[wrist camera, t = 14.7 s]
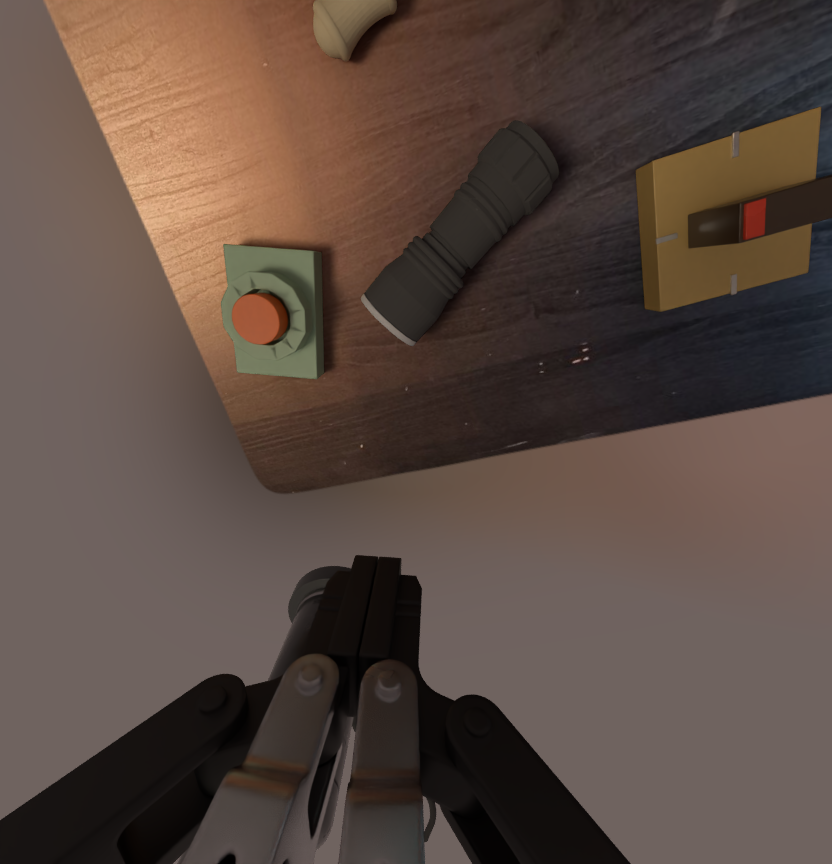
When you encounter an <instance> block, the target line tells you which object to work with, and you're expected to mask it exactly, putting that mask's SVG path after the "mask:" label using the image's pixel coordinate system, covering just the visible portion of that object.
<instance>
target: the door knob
mask: <svg viewBox="0 0 832 864" xmlns="http://www.w3.org/2000/svg"><path fill="white" fill-rule="evenodd" d="M396 9H397V0H316V1H315V2H314V3H313V11H314V19H313V29H314V34H315V38H316V40H317V42H318V44H319V46H320V48H321V49H322V50H323V51H324V52H325V53H326V54H327V55H328V56H330V57H332V58H341V59H342V60H343V61H348V60H349V59H350V57H351V53H352V51H353V49H354V48H355V46H356V44H357V43H358V41H359V39H360V38H361V37H362V35H363V34H364V33H365V32H366V31H367V30H368V29H369V28H370V27H371V26H372V25H373V24H374V23H376V22H377V21H378V20H380V19H382V18H383V17H385V16H387V15H392V14H394V13H395V12H396Z"/></svg>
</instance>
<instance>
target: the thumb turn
mask: <svg viewBox="0 0 832 864" xmlns="http://www.w3.org/2000/svg"><path fill="white" fill-rule="evenodd" d="M829 218H832V175H828V176H824V177H820V178H816V179H812V180H808V181H804V182H800V183H796V184H792V185H788V186H784V187H780V188H777V189H774V190H770V191H767V192H764V193H760V194H757V195H753V196H750V197H747V198H743V199H740V200H736V201H733V202H730V203H726V204H723V205H719V206H716V207H713V208H709V209H706V210H702V211H699V212H696V213H692V214H689V215H688V248H699V247H709V246H719V245H729V244H739V243H743V242H747V241H750V240H754V239H757V238H761V237H765V236H768V235H772V234H775V233H779V232H783V231H786V230H790V229H793V228H797V227H801V226H804V225H808V224H811V223H815V222H818V221H822V220H826V219H829Z"/></svg>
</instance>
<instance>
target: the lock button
mask: <svg viewBox="0 0 832 864" xmlns="http://www.w3.org/2000/svg"><path fill="white" fill-rule="evenodd" d="M232 321H233V325H234V327H235V329H236V331H237V332H238V334H239V335H240V336H241V337H242V338H244V339H245V340H246V341H248V342H250V343H253V344H258V345H262V344H267V343H269V342H272V341H274V340H277V339H279V338H280V337H281V336H282V335H283V334H284V333H285V331H286V329H287V326H288V316H287V312H286V310H285V308H284V306H283V304H282V303H281V302H280V301H279V300H278V299H277V298H275V297H274V296H272V295H270V294H267V293H255V294H247V295H244V296H242V297H240V298H239V299H238V300H237V301H236V302H235V304H234V306H233V309H232Z"/></svg>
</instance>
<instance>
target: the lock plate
mask: <svg viewBox="0 0 832 864" xmlns="http://www.w3.org/2000/svg"><path fill="white" fill-rule="evenodd" d="M820 117H821V107H818V108H814V109H811V110H808V111H805V112H802V113H799V114H796V115H793V116H790V117H787V118H784V119H781V120H777V121H774V122H771V123H768V124H765V125H762V126H759V127H756V128H753V129H750V130H747V131H744V132H740V133H739V131H737V132H734V133H732V135H731V136H728V137H725V138H722V139H719V140H716V141H713V142H710V143H707V144H703V145H700V146H697V147H694V148H691V149H688V150H685V151H682V152H679V153H676V154H673V155H670V156H666V157H663V158H660V159H657V160H654V161H652V162H650V163H648V164H646V165H644V166H642V167H641V168H639V169H637V170H636V183H637V198H638V213H639V229H640V244H641V259H642V274H643V289H644V304H645V309H648V310H654V311H660V312H662V311H666V310H669V309H673V308H677V307H681V306H684V305H688V304H692V303H696V302H699V301H703V300H707V299H711V298H715V297H718V296H722V295H726V294H730V295H734V294H737V291H741V290H745V289H748V288H752V287H756V286H760V285H763V284H767V283H771V282H775V281H779V280H782V279H786V278H790V277H794V276H797V275H801V274H805V273H808V269H809V256H810V244H811V231H812V223H811V224H808V225H804V226H801V227H797V228H793V229H790V230H786V231H783V232H779V233H775V234H772V235H768V236H765V237H761V238H757V239H754V240H750V241H747V242H743V243H739V244H729V245H719V246H709V247H699V248H688V215H689V214H692V213H696V212H699V211H702V210H706V209H709V208H713V207H716V206H719V205H723V204H726V203H730V202H733V201H736V200H740V199H743V198H747V197H750V196H753V195H757V194H760V193H764V192H767V191H770V190H774V189H777V188H780V187H784V186H788V185H792V184H796V183H800V182H804V181H808V180H812V179H816V167H817V155H818V142H819V129H820Z"/></svg>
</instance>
